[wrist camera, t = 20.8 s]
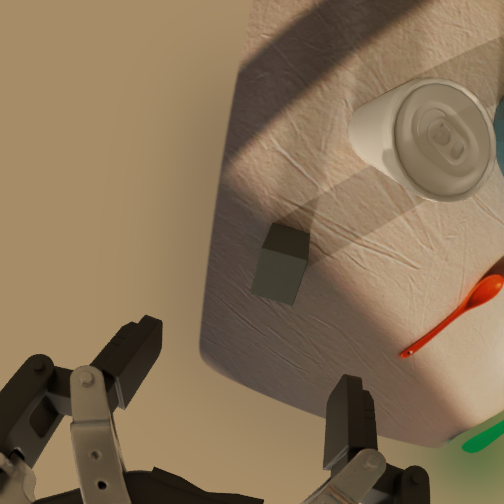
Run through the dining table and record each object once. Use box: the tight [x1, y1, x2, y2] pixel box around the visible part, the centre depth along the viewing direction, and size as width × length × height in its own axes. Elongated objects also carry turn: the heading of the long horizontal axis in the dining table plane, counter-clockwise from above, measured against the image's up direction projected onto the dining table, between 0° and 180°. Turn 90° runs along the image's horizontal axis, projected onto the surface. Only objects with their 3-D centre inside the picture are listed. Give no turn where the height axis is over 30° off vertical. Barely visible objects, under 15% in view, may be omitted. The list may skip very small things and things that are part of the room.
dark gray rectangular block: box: [250, 223, 310, 306], centre depth 22 cm, size 3×4×5 cm
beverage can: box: [348, 77, 496, 203], centre depth 13 cm, size 5×5×12 cm
